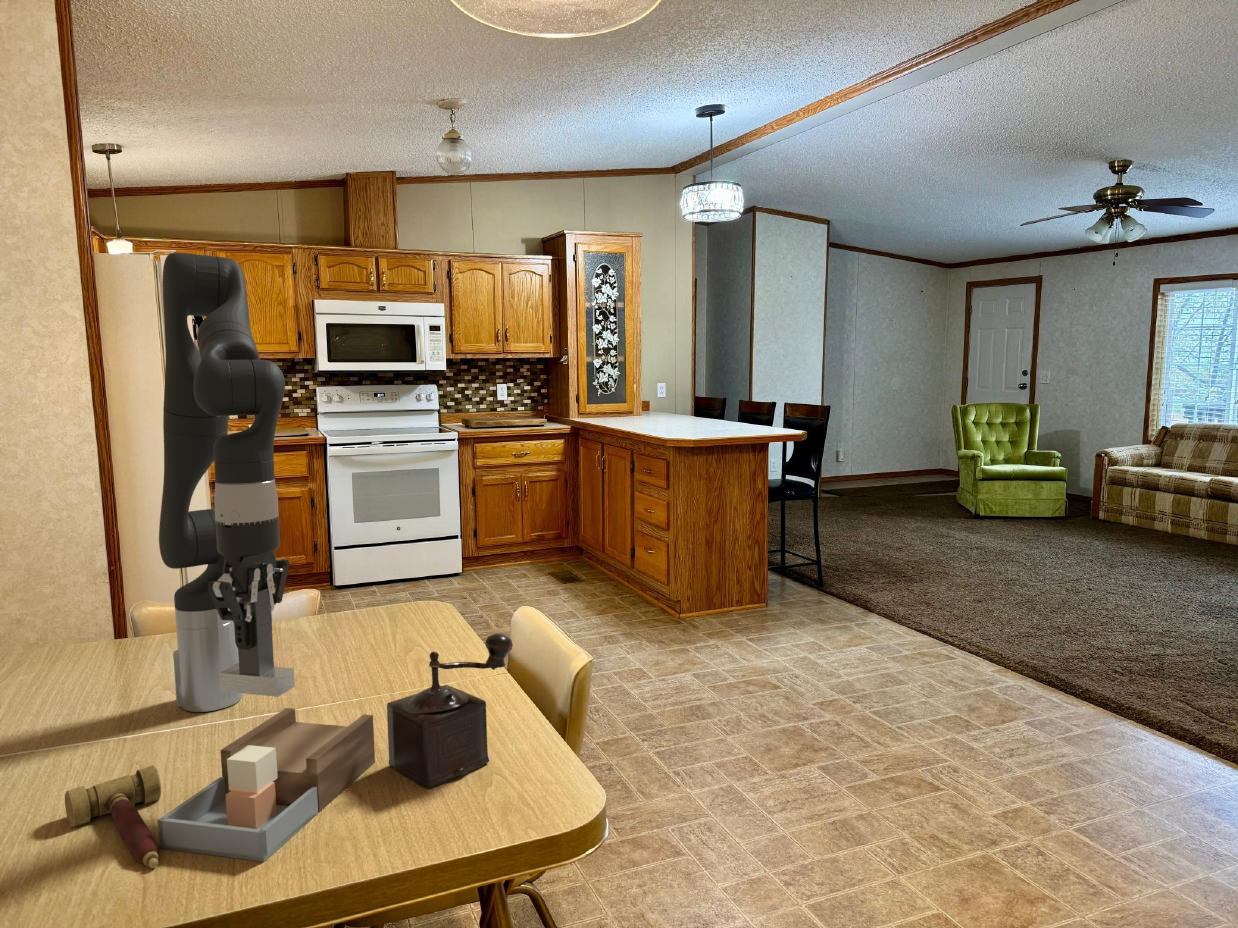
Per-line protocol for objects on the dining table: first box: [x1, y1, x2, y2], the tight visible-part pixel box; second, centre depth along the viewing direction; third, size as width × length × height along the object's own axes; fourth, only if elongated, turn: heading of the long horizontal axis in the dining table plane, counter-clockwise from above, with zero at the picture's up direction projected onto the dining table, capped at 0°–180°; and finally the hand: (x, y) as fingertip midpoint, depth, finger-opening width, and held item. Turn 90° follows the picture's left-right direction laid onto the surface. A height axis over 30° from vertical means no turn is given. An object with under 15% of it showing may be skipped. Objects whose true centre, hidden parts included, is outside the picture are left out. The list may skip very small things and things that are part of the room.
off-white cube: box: [227, 745, 278, 793], centre depth 104 cm, size 4×4×4 cm
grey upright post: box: [219, 588, 296, 698], centre depth 110 cm, size 9×4×14 cm, turn 77°
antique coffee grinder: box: [386, 633, 514, 790], centre depth 119 cm, size 16×11×18 cm
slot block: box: [219, 707, 376, 813], centre depth 114 cm, size 14×14×7 cm
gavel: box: [64, 765, 162, 869], centre depth 101 cm, size 21×5×10 cm
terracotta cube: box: [226, 782, 277, 829], centre depth 103 cm, size 4×4×4 cm
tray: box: [157, 776, 319, 863], centre depth 102 cm, size 14×11×4 cm
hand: (254, 643), depth 110 cm, fingers closed on grey upright post, 3 cm apart
